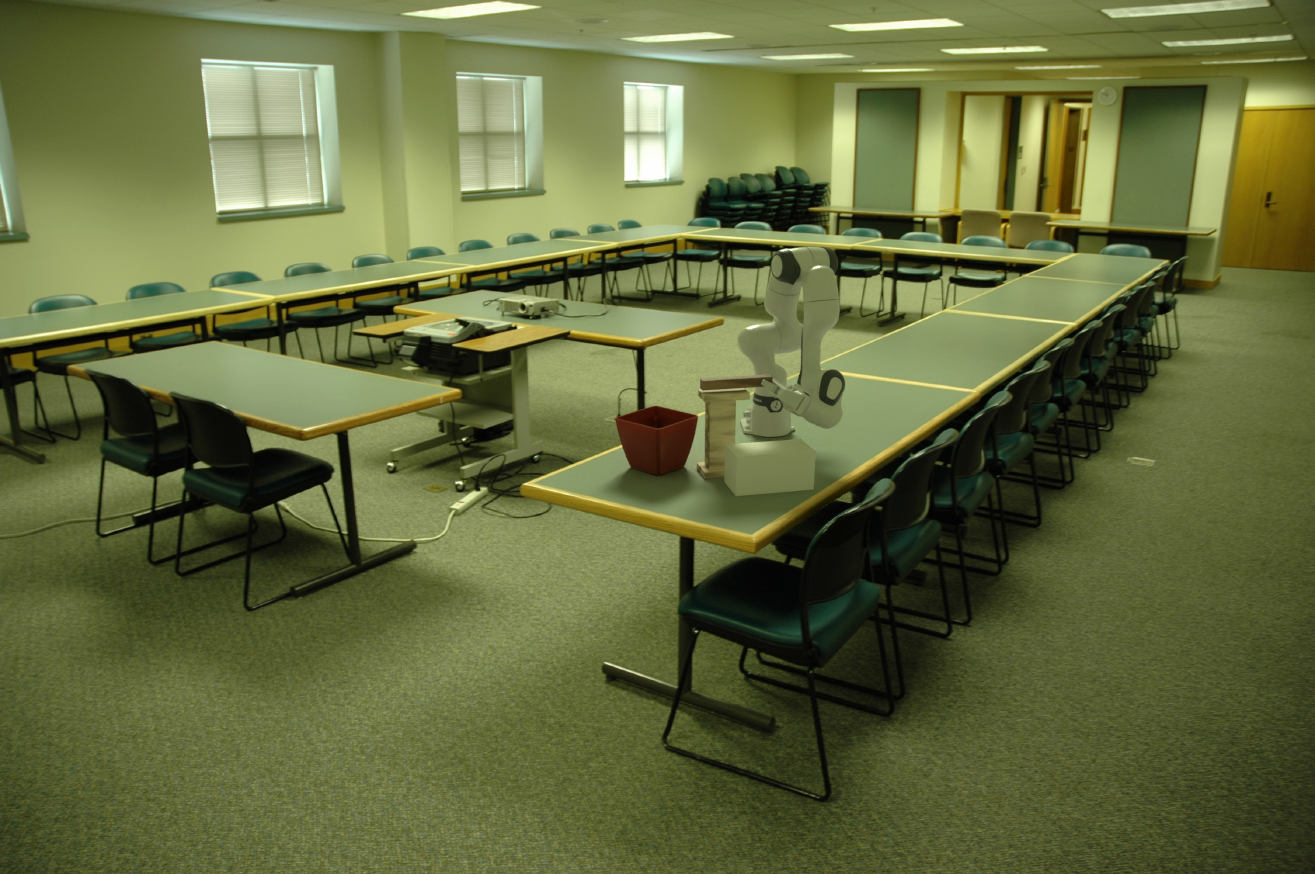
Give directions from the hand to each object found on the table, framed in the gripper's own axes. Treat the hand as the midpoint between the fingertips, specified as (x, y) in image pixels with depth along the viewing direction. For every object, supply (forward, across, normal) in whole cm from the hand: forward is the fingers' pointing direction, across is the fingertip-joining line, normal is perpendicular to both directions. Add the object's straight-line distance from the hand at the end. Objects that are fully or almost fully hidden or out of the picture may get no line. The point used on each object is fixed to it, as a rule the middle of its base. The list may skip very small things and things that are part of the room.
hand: (759, 379), depth 281 cm
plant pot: (+12, -9, +40) cm, 43 cm away
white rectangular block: (-13, +15, +26) cm, 33 cm away
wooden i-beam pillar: (-5, 0, +31) cm, 31 cm away
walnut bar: (+5, 0, +5) cm, 7 cm away
